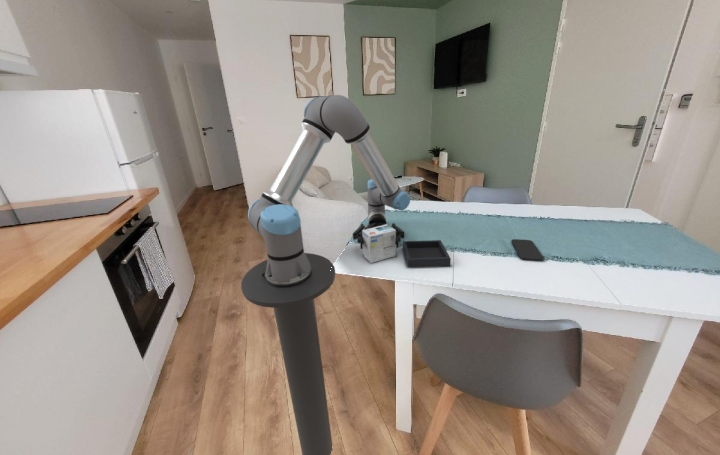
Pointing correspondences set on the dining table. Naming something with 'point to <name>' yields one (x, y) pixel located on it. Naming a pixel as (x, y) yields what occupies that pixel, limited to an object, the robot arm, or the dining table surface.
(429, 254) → the pad
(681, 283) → the dining table surface
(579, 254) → the dining table surface
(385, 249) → the light bulb box
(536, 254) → the phone
